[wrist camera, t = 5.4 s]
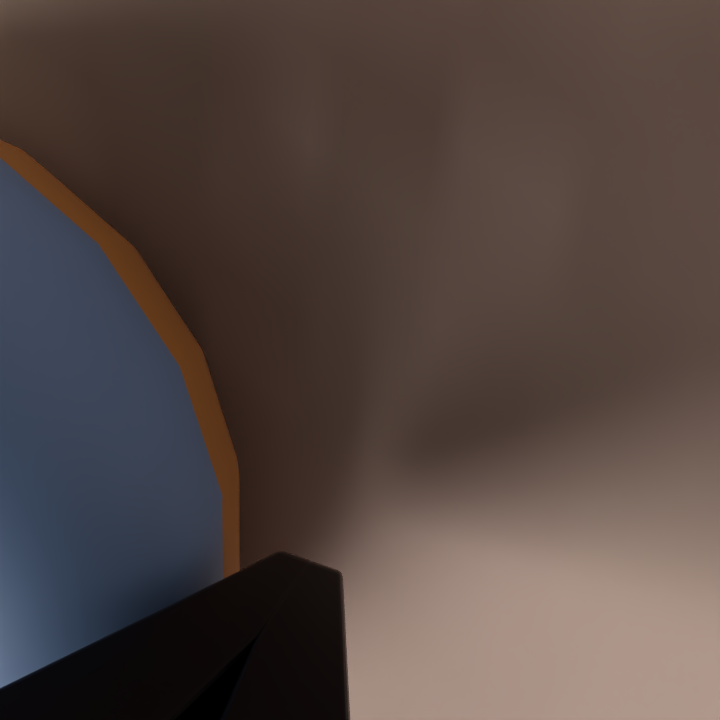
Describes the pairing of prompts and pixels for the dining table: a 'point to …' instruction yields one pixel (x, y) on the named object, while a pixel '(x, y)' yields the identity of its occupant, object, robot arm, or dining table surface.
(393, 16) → the dining table surface
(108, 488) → the doughnut
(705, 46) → the dining table surface
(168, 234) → the dining table surface
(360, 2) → the dining table surface
